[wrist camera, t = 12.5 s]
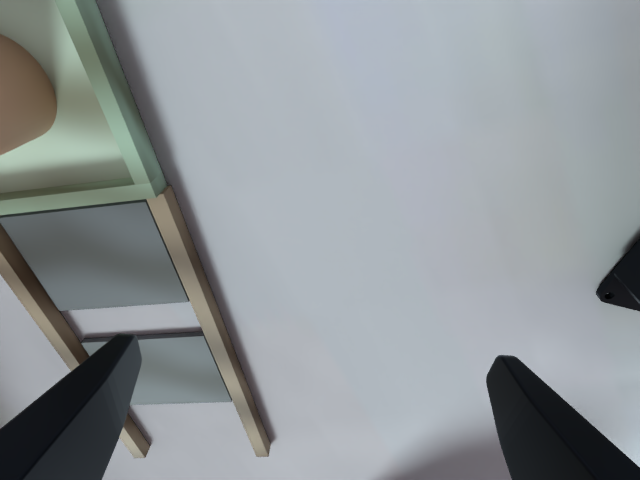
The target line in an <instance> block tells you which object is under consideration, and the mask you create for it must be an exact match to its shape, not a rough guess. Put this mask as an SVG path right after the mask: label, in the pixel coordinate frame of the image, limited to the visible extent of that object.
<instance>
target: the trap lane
mask: <svg viewBox="0 0 640 480" xmlns="http://www.w3.org/2000/svg"><path fill="white" fill-rule="evenodd" d="M0 34H2V35H4V36H6V37H8V38H10V39H11V40H13V41H15V42H16V43H18V44H19V45H20V46H22V47H23V48H24V49H25V50H27V51H28V52H29V53H30V54H31V55H32V56H33V57H34V58H35V59H36V60H37V62H38V63H39V64H40V65H41V67H42V68H43V70H44V71H45V73H46V74H47V76H48V78H49V80H50V82H51V84H52V87H53V89H54V92H55V96H56V102H57V114H56V118H55V121H54V123H53V125H52V127H51V128H50V130H49V131H47V132H46V133H45V134H43V135H42V136H40V137H38V138H36V139H34V140H32V141H30V142H28V143H25V144H23V145H21V146H19V147H17V148H15V149H13V150H11V151H9V152H7V153H5V154H3V155H1V156H0V215H2V216H0V223H1V224H2V225H1V224H0V274H1V276H2V277H3V278H4V280H5V281H6V282H7V284H8V285H9V287H10V288H11V289H12V291H13V292H14V293H15V295H16V296H17V298H18V299H19V300H20V302H21V303H22V304H23V306H24V307H25V309H26V310H27V311H28V313H29V314H30V315H31V317H32V318H33V320H34V321H35V322H36V324H37V325H38V326H39V328H40V329H41V330H42V332H43V333H44V335H45V336H46V337H47V339H48V340H49V341H50V343H51V344H52V346H53V347H54V348H55V350H56V351H57V352H58V354H59V355H60V357H61V358H62V359H63V361H64V362H65V363H66V365H67V366H68V368H69V369H70V370H71V371H72V370H74V369H75V368H76V367H77V366H78V365H80V364H81V363H82V362H83V361H85V360H86V359H87V358H88V357H90V356H91V355H92V354H93V353H94V352H96V351H97V350H98V349H99V348H101V347H102V346H103V345H104V344H106V343H107V342H108V341H109V340H110V339H112V338H113V337H105V338H88V339H84V340H83V341H82V342H81V343H80V341H79V340H78V338H77V337H76V336H75V334H74V333H73V331H72V330H71V328H70V327H69V325H68V324H67V322H66V321H65V319H64V318H63V316H62V315H61V313H60V312H59V311H66V310H81V309H95V308H109V307H123V306H138V305H152V304H166V303H180V302H189V300H190V302H191V305H192V307H193V309H194V312H195V314H196V316H197V319H198V321H199V323H200V326H201V328H202V330H203V332H191V333H174V334H157V335H140V336H137V339H138V343H139V347H140V351H141V356H142V363H141V368H140V371H139V375H138V378H137V382H136V385H135V389H134V392H133V395H132V399H131V402H130V405H146V404H178V403H209V402H232V400H233V403H234V405H235V407H236V410H237V412H238V414H239V417H240V419H241V421H242V424H243V426H244V428H245V431H246V433H247V435H248V438H249V440H250V442H251V445H252V447H253V449H254V452H255V454H256V456H257V457H268V456H269V451H270V442H269V439H268V437H267V434H266V432H265V429H264V426H263V424H262V421H261V419H260V416H259V413H258V411H257V408H256V406H255V403H254V400H253V398H252V395H251V393H250V390H249V387H248V385H247V382H246V380H245V377H244V374H243V372H242V369H241V366H240V364H239V361H238V359H237V356H236V353H235V351H234V348H233V346H232V343H231V340H230V338H229V335H228V333H227V330H226V327H225V325H224V322H223V320H222V317H221V314H220V312H219V309H218V307H217V304H216V301H215V299H214V296H213V293H212V291H211V288H210V286H209V283H208V280H207V278H206V275H205V273H204V270H203V267H202V265H201V262H200V260H199V257H198V254H197V252H196V249H195V247H194V244H193V241H192V239H191V236H190V234H189V231H188V228H187V226H186V223H185V221H184V218H183V215H182V213H181V210H180V207H179V205H178V202H177V200H176V197H175V194H174V192H173V189H172V187H171V185H170V186H167V183H166V181H165V178H164V176H163V173H162V170H161V168H160V165H159V163H158V160H157V158H156V155H155V152H154V150H153V147H152V145H151V142H150V140H149V137H148V134H147V132H146V129H145V127H144V124H143V122H142V119H141V116H140V114H139V111H138V109H137V106H136V104H135V101H134V98H133V96H132V93H131V91H130V88H129V86H128V83H127V81H126V78H125V75H124V73H123V70H122V68H121V65H120V63H119V60H118V57H117V55H116V52H115V50H114V47H113V45H112V42H111V39H110V37H109V34H108V32H107V29H106V27H105V24H104V21H103V19H102V16H101V14H100V11H99V9H98V6H97V3H96V1H95V0H0ZM2 226H3V227H4V228H3V227H2ZM4 229H5V230H6V231H5V230H4ZM6 232H7V233H8V234H7V233H6ZM8 235H9V236H10V237H9V236H8ZM10 238H11V239H12V240H11V239H10ZM12 241H13V242H14V243H13V242H12ZM14 244H15V245H16V246H15V245H14ZM16 247H17V248H18V249H17V248H16ZM18 250H19V251H20V252H19V251H18ZM20 253H21V254H22V255H21V254H20ZM22 256H23V257H24V258H23V257H22ZM24 259H25V260H26V261H25V260H24ZM26 262H27V263H28V264H27V263H26ZM29 266H30V267H29ZM31 269H32V270H31ZM33 272H34V273H33ZM35 275H36V276H35ZM37 278H38V279H37ZM39 281H40V282H39ZM41 284H42V285H41ZM43 287H44V288H43ZM45 290H46V291H45ZM47 293H48V294H47ZM49 296H50V297H49ZM51 299H52V300H51ZM53 302H54V303H53ZM55 305H56V306H57V307H56V306H55ZM57 308H58V309H59V310H58V309H57ZM82 345H83V346H82ZM84 348H85V349H84ZM86 351H87V352H86ZM88 354H89V355H88ZM119 438H120V439H121V440H122V442H123V443H124V444H125V446H126V447H127V449H128V450H129V451H130V453H131V454H132V455H133V457H134V458H145V457H146V455H147V453H148V450H149V448H150V446H149V444H148V443H147V441H146V440H145V438H144V437H143V435H142V434H141V432H140V431H139V429H138V428H137V426H136V425H135V423H134V422H133V420H132V419H131V417H130V416H129V414H128V413H127V416H126V419H125V422H124V426H123V429H122V431H121V434H120V436H119Z"/></svg>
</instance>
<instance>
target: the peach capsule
mask: <svg viewBox="0 0 640 480" xmlns="http://www.w3.org/2000/svg"><path fill="white" fill-rule="evenodd" d="M56 114H57V102H56V96H55V92H54V89H53V87H52V84H51V82H50V80H49V78H48V76H47V74H46V73H45V71H44V70H43V68H42V67H41V65H40V64H39V63H38V62H37V60H36V59H35V58H34V57H33V56H32V55H31V54H30V53H29V52H28V51H27V50H25V49H24V48H23V47H22V46H20V45H19V44H18V43H16V42H15V41H13V40H11V39H10V38H8V37H6V36H4V35H2V34H0V156H1V155H3V154H5V153H7V152H9V151H11V150H13V149H15V148H17V147H19V146H21V145H23V144H25V143H28V142H30V141H32V140H34V139H36V138H38V137H40V136H42V135H43V134H45V133H46V132H47V131H49V130H50V128H51V127H52V125H53V123H54V121H55V118H56Z"/></svg>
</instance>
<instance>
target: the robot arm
mask: <svg viewBox="0 0 640 480" xmlns="http://www.w3.org/2000/svg"><path fill="white" fill-rule="evenodd" d="M607 293H608V294H607ZM596 295H597V296H598V298H599V299H600V300H601V301H602V302H605V303H609V304H613V305H617V306H621V307H625V308H629V309H633V310H637V311H640V239H639V240H638V241H637V242H636V244H635V245H634V246H633V247H632V248H631V249H630V251H629V252H628V253H627V254H626V255H625V257H624V258H623V259H622V260H621V261H620V263H619V264H618V265H617V266H616V267H615V269H614V270H613V271H612V272H611V273H610V275H609V276H608V277H607V278H606V279H605V281H604V282H603V283H602V284H601V285H600V287H599V288H598V289H597V291H596ZM141 363H142V356H141V351H140V347H139V343H138V339H137V336H136V335H134V334H118V335H116V336H114V337H113V338H112V339H110V340H109V341H108V342H107V343H106V344H104V345H103V346H102V347H101V348H99V349H98V350H97V351H96V352H94V353H93V354H92V355H91V356H90V357H88V358H87V359H86V360H85V361H83V362H82V363H81V364H80V365H78V366H77V367H76V368H75V369H74V370H72V371H71V372H70V373H69V374H67V375H66V376H65V377H64V378H62V379H61V380H60V381H59V382H58V383H56V384H55V385H54V386H53V387H51V388H50V389H49V390H48V391H46V392H45V393H44V394H43V395H42V396H40V397H39V398H38V399H37V400H35V401H34V402H33V403H32V404H30V405H29V406H28V407H27V408H26V409H24V410H23V411H22V412H21V413H19V414H18V415H17V416H16V417H14V418H13V419H12V420H11V421H10V422H8V423H7V424H6V425H5V426H3V427H2V428H1V429H0V480H102V478H103V475H104V473H105V470H106V468H107V466H108V463H109V461H110V458H111V456H112V453H113V451H114V449H115V446H116V444H117V441H118V439H119V436H120V434H121V431H122V429H123V426H124V422H125V419H126V416H127V413H128V409H129V406H130V402H131V399H132V395H133V392H134V389H135V385H136V382H137V378H138V375H139V371H140V368H141ZM486 383H487V388H488V393H489V397H490V402H491V406H492V411H493V415H494V420H495V424H496V428H497V433H498V437H499V441H500V445H501V448H502V451H503V454H504V457H505V460H506V463H507V466H508V469H509V472H510V475H511V478H512V480H640V468H639V467H638V466H637V465H636V464H635V463H634V462H633V461H632V460H631V459H629V458H628V457H627V456H626V455H625V454H624V453H623V452H622V451H621V450H619V449H618V448H617V447H616V446H615V445H614V444H613V443H612V442H610V441H609V440H608V439H607V438H606V437H605V436H604V435H603V434H602V433H600V432H599V431H598V430H597V429H596V428H595V427H594V426H593V425H592V424H590V423H589V422H588V421H587V420H586V419H585V418H584V417H583V416H581V415H580V414H579V413H578V412H577V411H576V410H575V409H574V408H573V407H571V406H570V405H569V404H568V403H567V402H566V401H565V400H564V399H562V398H561V397H560V396H559V395H558V394H557V393H556V392H555V391H554V390H552V389H551V388H550V387H549V386H548V385H547V384H546V383H545V382H544V381H542V380H541V379H540V378H539V377H538V376H537V375H536V374H535V373H533V372H532V371H531V370H530V369H529V368H528V367H527V366H526V365H525V364H523V363H522V362H521V361H520V360H519V359H518V358H516V357H514V356H508V355H499V356H497V357H496V359H495V361H494V363H493V365H492V366H491V368H490V370H489V372H488V374H487V378H486Z"/></svg>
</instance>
